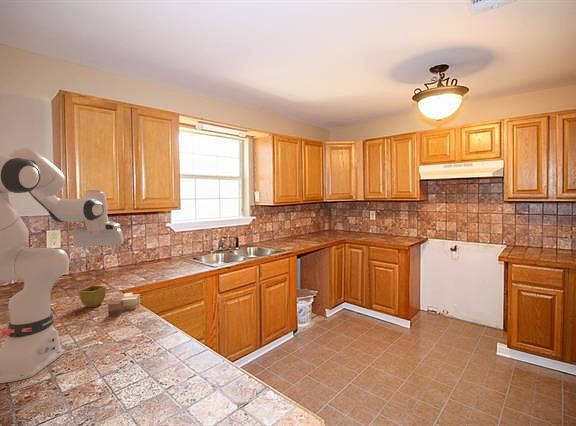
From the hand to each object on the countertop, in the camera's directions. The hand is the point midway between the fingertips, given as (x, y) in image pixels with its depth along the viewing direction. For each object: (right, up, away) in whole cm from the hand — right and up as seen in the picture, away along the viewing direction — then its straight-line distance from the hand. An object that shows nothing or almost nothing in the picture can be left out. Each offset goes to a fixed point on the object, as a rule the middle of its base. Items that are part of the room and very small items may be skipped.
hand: (100, 255), depth 142 cm
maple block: (+7, -28, +14) cm, 32 cm away
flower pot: (-13, -28, +16) cm, 35 cm away
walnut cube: (+5, -29, +4) cm, 30 cm away
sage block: (+2, -28, +21) cm, 35 cm away
